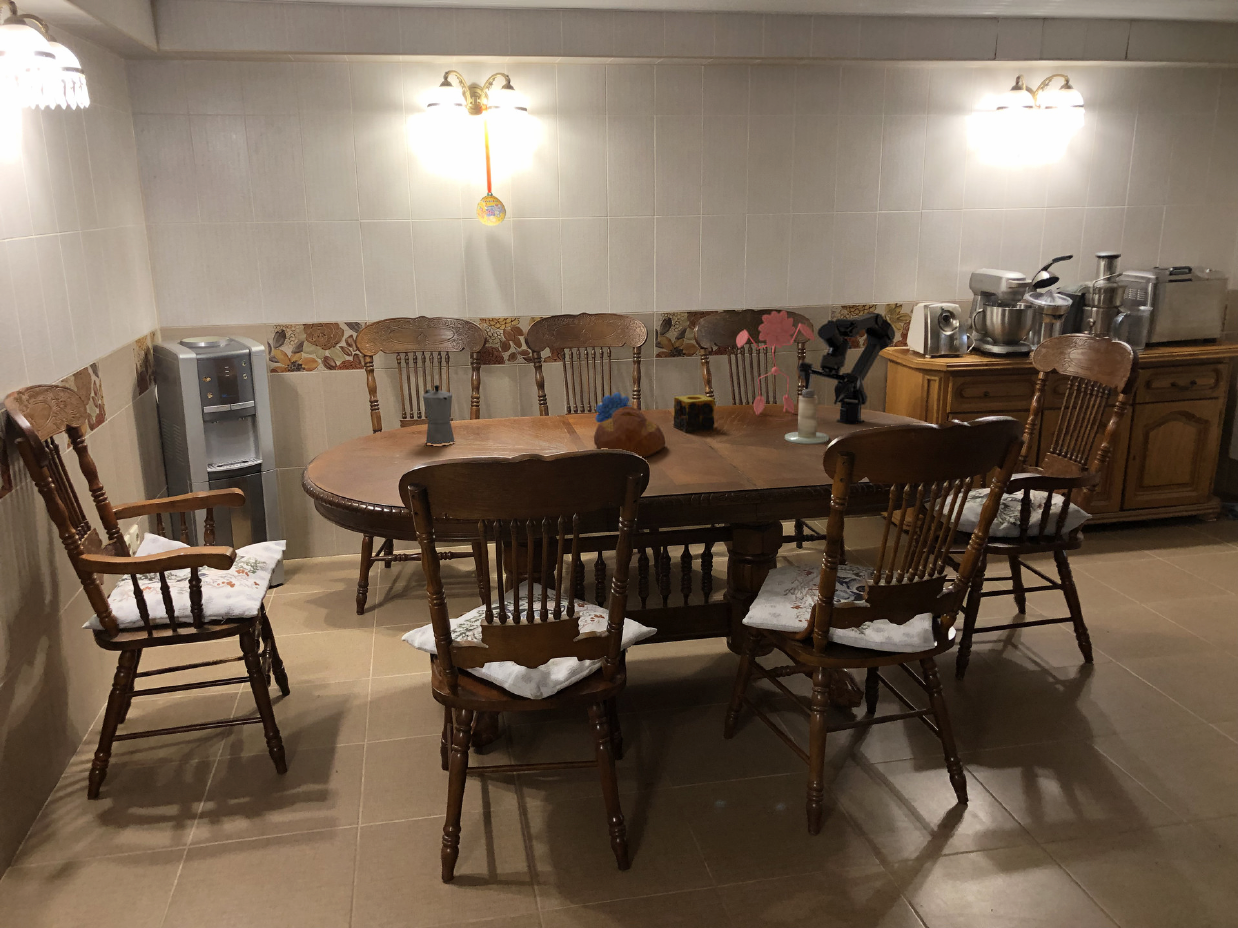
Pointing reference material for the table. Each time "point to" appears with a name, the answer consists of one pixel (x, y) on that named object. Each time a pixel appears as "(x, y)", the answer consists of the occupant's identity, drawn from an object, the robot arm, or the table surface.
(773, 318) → the figurine
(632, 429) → the bread
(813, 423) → the pepper mill
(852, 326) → the robot arm
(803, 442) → the pale green coaster
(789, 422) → the table surface
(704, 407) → the black and yellow cube
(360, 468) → the table surface
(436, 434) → the coffeepot
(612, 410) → the grapes
